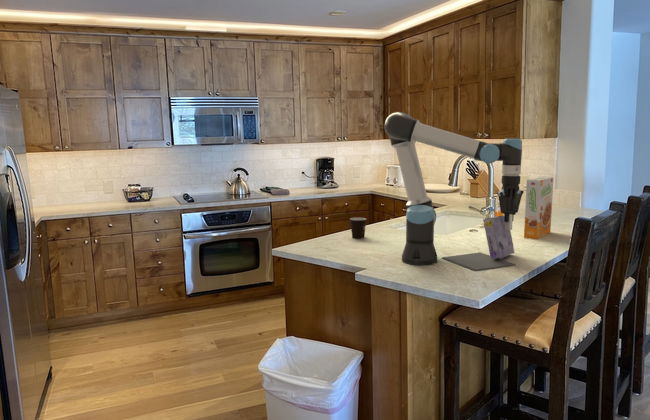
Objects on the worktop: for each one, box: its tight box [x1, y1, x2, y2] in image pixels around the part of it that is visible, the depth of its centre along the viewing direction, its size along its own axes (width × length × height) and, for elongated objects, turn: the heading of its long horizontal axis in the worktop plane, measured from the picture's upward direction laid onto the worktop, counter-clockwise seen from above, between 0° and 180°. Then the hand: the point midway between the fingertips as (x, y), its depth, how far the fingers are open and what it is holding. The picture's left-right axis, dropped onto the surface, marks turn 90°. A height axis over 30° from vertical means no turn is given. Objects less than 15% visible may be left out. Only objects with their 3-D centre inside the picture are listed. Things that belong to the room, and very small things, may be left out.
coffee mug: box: [349, 217, 367, 240], centre depth 265 cm, size 12×9×10 cm
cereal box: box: [523, 175, 554, 240], centre depth 262 cm, size 22×6×30 cm, turn 139°
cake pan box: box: [482, 214, 515, 259], centre depth 218 cm, size 19×5×18 cm, turn 141°
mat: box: [441, 251, 516, 272], centre depth 213 cm, size 20×22×1 cm
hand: (508, 229), depth 217 cm, fingers closed
